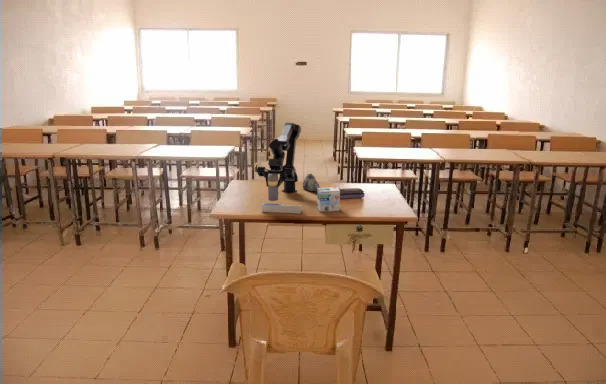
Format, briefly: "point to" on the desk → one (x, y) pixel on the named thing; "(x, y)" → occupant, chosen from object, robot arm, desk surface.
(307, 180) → the mineral rock
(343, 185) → the desk surface
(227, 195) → the desk surface
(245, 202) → the desk surface
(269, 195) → the grey banded capsule
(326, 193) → the light bulb box
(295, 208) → the white blue striped bracket
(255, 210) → the desk surface
